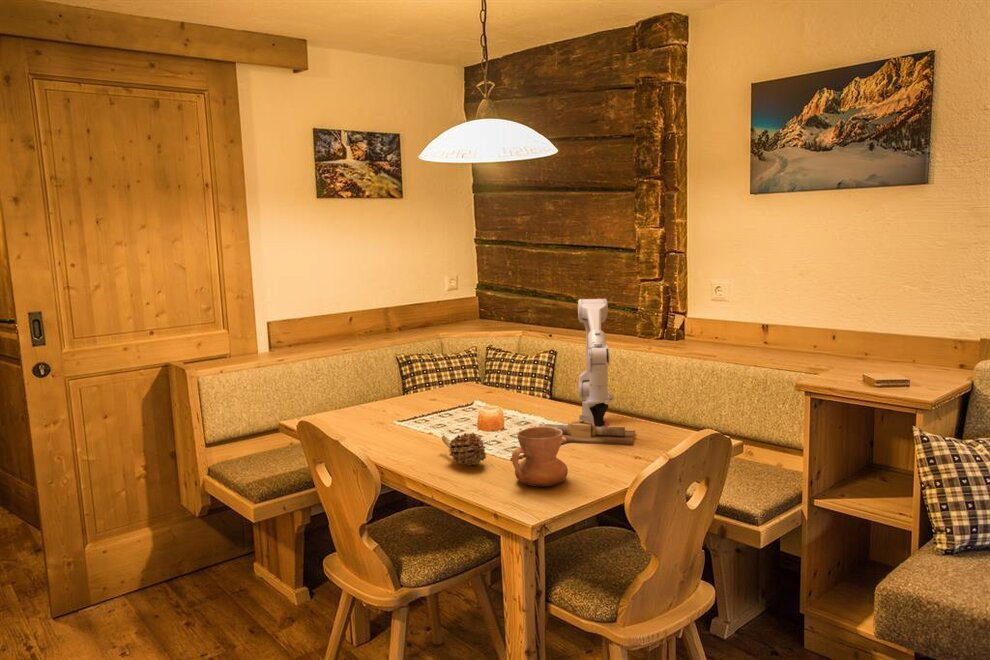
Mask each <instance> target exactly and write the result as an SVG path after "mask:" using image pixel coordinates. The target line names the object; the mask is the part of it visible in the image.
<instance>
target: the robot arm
mask: <svg viewBox="0 0 990 660" xmlns="http://www.w3.org/2000/svg"><path fill="white" fill-rule="evenodd" d="M608 303H609V302H608V300H607V298H587V299H585V298H579V299H578V301H577V314H578V316H577V317H578V319H577V320H578V321H579V322H578V323H582V324H583V325H584V328H585V366H586V367H585V371H583V372H581V373H580V374H579V376H578V381H577V391H578V394H577V395H578V397H579V398H580V399H582V400H581V402H582V403H581V405H582V406H581V411H582V413H581V415H584V416H588V417H593V418H594V425H595V426H597V427H602V424H603V419H606V418H605V415H606V412H607V410H608V409H609V404H607V403H610V402H611V401H612V402H613V401H614V398H615V395H614V394H612V393H608V389H609V388H608V383H609V382H608V376H609V375H608V369H609V368H608V366H609V365H610V350H609V346H608V344H607V341H606V340H607V339H606V333H605V331H603V330H602V323H604V322H605V321H606V319H607V317H608V311H609V308H608V307H609V306H608ZM592 424H593V423H592Z"/></svg>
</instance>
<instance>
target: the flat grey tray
mask: <svg viewBox="0 0 990 660" xmlns="http://www.w3.org/2000/svg"><path fill="white" fill-rule="evenodd" d="M541 426H547V427H555V428H557V430H559V429H560V430H561V431H562V433H563V436H562V437H565V438H566V442H568V443H569V444H590V445H613V446H631V445H633V444H634V443H635V437H634V436H636V430H627V429H626V427H625V426H607V427H604V426H602V427H597V426H595V425H594V424H592V423H591V422H586V421H584V422H579V419H577V420H576V419H573V420H572V422H571V423H568V424H556V423H554V424H552V423H551V424H549V423H548V424H547V423H539V425H538V427H541ZM542 438H548V437H541V439H542ZM633 446H634V445H633Z"/></svg>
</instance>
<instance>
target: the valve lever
mask: <svg viewBox="0 0 990 660" xmlns="http://www.w3.org/2000/svg"><path fill="white" fill-rule="evenodd" d="M578 420H579V422H584V421H586V422H591V423H593V424H594V418H593V417H588V416H584V415H582V414H581V415H579V419H578ZM602 426H604V427H610V420H609V419H606V418H605V419H603V424H602Z"/></svg>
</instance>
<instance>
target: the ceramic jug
mask: <svg viewBox="0 0 990 660" xmlns="http://www.w3.org/2000/svg"><path fill="white" fill-rule="evenodd" d="M516 434H517V435H516V436H517V440H518V443H519V446H520V447H517V448H515V449H514V450H512V454H511V461H512V462H511V463H512V466H513V468H514V476H515V477H516V479H517V480H518V481H519V482H521V483H523V484H524V485H529V486H532V487H538V488H539V487H551V486H554V485H557V484H560V483H561V482H563V481H564V480H565V479H566V478H567V476H568V473H569V471H568V470H569V469H568V465H567V464H566V463H565V462H563V461H562V460H561V459H559V458H557V456H558V453H559V451H560V448H561V444H562V443H564V442H566V438H565V437H562V436H563V433H562V431H561V430H560V429H559V430H557V428H555V427H547V426H541V427H539V426H533V427H531V426H530V427H527V428H524V429H521V430H519V431H518V432H517V433H516ZM541 437H548V438H542V439H541ZM521 454H523V455H524V457H525V459H523V460H522V461H520V463H519V458H520V455H521Z"/></svg>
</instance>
